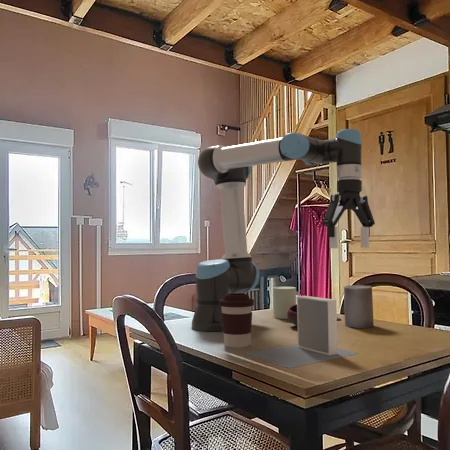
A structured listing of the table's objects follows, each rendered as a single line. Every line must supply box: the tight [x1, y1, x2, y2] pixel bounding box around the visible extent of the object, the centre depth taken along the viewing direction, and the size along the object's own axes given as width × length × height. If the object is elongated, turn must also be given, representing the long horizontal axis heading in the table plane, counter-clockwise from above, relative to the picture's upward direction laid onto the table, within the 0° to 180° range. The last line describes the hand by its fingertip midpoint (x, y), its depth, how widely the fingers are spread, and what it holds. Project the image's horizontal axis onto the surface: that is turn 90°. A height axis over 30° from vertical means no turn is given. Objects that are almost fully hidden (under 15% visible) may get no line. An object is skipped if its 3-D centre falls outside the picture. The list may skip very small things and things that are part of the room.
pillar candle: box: [343, 282, 374, 329], centre depth 167 cm, size 10×10×15 cm
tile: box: [296, 295, 338, 355], centre depth 128 cm, size 12×3×14 cm, turn 34°
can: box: [272, 286, 297, 320], centre depth 187 cm, size 9×9×12 cm
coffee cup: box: [219, 293, 255, 349], centre depth 136 cm, size 10×10×15 cm
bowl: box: [287, 303, 297, 326], centre depth 168 cm, size 16×13×8 cm
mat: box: [243, 343, 359, 369], centre depth 125 cm, size 18×24×1 cm
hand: (349, 248), depth 148 cm, fingers open, 13 cm apart
